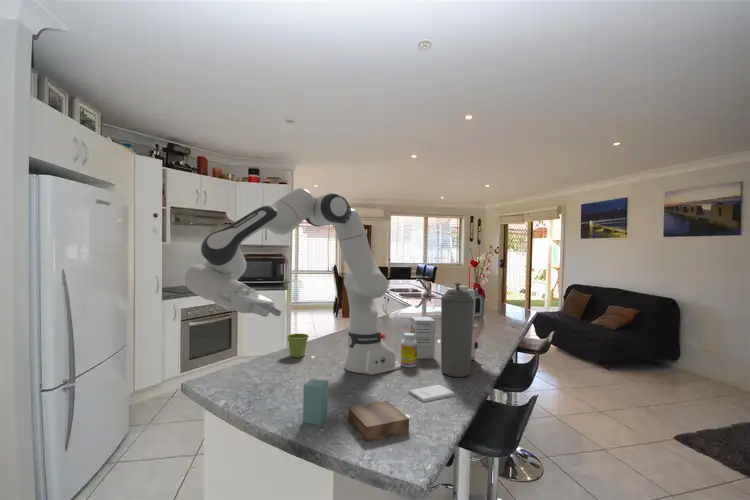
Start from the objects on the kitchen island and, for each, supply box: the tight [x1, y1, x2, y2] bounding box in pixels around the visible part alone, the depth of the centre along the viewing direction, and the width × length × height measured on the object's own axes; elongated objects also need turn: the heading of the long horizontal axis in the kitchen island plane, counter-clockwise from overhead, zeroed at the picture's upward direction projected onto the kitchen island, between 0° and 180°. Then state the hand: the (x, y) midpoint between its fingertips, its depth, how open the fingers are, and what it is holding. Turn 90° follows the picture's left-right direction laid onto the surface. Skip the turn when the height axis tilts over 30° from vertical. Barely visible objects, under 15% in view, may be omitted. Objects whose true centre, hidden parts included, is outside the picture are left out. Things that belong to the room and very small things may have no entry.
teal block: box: [302, 378, 329, 426], centre depth 99 cm, size 5×5×10 cm
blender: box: [447, 285, 485, 361], centre depth 159 cm, size 16×12×32 cm
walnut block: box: [347, 400, 410, 443], centre depth 96 cm, size 12×12×4 cm
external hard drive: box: [408, 384, 455, 403], centre depth 119 cm, size 2×8×12 cm
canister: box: [440, 282, 474, 378], centre depth 141 cm, size 13×13×35 cm
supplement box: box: [410, 316, 436, 359], centre depth 164 cm, size 10×9×17 cm
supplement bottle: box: [400, 332, 418, 368], centre depth 149 cm, size 7×7×13 cm
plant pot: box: [286, 333, 309, 358], centre depth 158 cm, size 9×9×9 cm
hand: (274, 314), depth 107 cm, fingers open, 8 cm apart
